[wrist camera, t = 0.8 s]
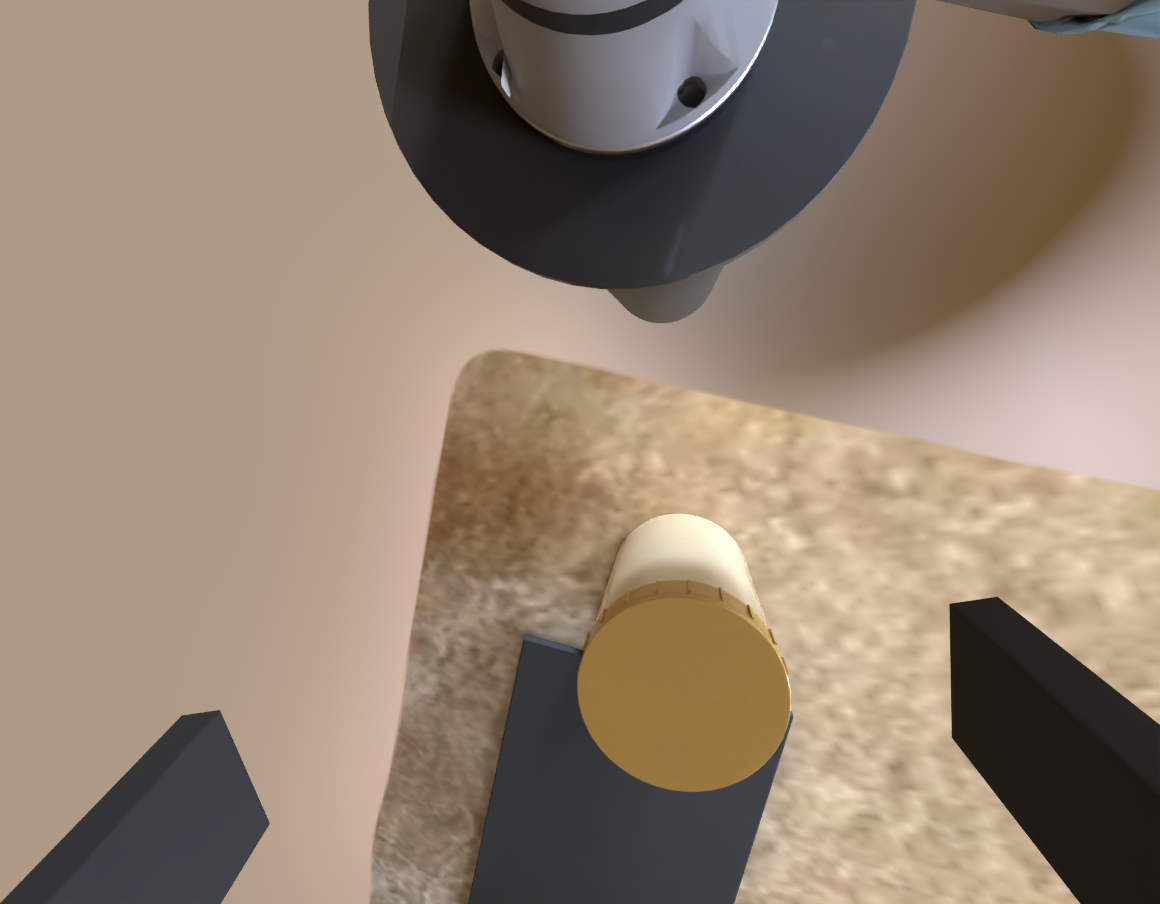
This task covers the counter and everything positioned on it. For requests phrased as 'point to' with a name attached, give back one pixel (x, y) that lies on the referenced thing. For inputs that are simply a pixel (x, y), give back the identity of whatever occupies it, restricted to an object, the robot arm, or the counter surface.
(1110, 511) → the counter surface
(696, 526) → the cream-colored jar
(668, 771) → the lid
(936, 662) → the counter surface
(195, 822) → the robot arm
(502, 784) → the mat
